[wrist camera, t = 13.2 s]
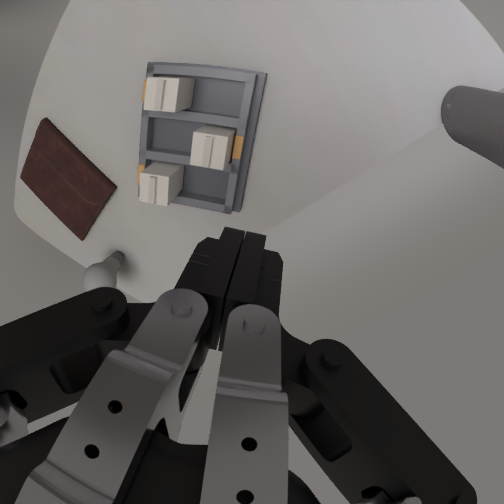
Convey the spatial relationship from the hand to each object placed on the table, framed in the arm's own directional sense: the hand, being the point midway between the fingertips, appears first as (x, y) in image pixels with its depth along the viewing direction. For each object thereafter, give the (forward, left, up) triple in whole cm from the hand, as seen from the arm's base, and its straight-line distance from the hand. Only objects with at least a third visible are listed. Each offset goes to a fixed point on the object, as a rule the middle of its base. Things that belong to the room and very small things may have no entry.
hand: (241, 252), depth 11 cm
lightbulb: (+23, +27, -31) cm, 47 cm away
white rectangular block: (+7, +3, -29) cm, 30 cm away
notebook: (+35, +14, -31) cm, 49 cm away
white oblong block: (+13, +9, -29) cm, 33 cm away
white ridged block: (+13, -3, -29) cm, 32 cm away
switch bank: (+10, +3, -30) cm, 32 cm away
